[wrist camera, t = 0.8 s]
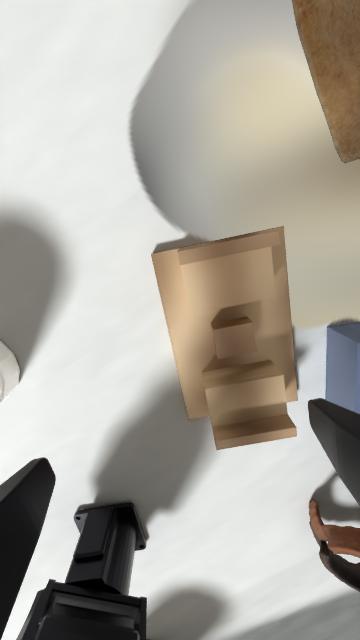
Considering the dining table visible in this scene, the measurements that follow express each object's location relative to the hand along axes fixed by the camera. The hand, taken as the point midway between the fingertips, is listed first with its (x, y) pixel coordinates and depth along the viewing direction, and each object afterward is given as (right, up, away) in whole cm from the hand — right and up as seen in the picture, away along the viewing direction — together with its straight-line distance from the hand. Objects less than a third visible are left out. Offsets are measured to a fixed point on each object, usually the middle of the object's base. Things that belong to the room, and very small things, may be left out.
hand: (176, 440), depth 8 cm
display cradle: (+4, +3, +13) cm, 14 cm away
